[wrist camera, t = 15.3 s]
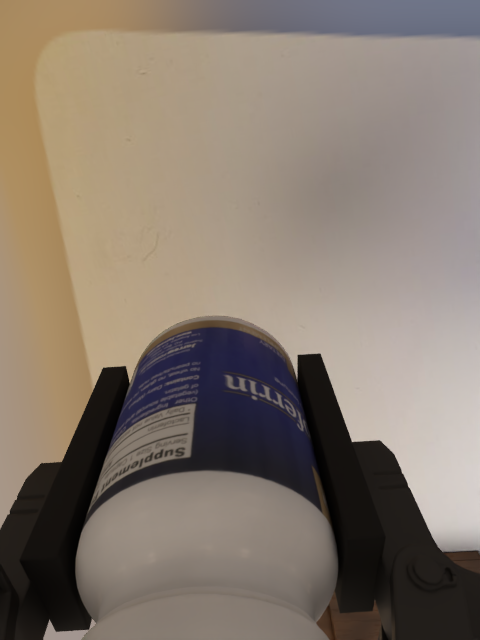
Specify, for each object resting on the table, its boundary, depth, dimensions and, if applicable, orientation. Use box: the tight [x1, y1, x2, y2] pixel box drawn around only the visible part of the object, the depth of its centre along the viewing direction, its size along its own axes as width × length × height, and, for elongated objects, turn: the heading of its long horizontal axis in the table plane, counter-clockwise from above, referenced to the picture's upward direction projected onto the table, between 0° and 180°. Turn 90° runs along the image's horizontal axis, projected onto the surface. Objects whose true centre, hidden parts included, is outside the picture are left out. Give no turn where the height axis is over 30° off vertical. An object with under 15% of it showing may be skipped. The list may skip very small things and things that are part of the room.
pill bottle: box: [75, 316, 338, 640], centre depth 11 cm, size 6×6×10 cm
